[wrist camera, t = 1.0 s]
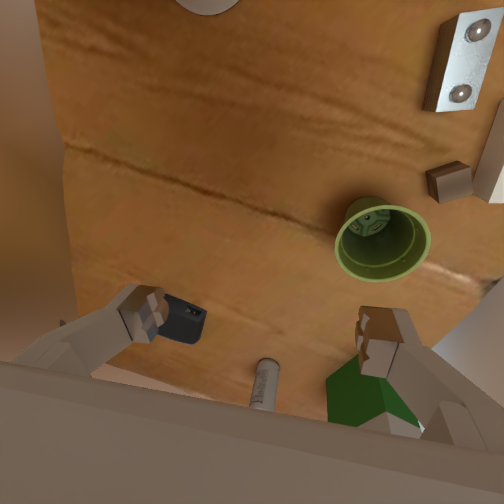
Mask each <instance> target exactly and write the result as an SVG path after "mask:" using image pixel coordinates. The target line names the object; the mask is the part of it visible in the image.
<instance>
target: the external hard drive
mask: <svg viewBox="0 0 504 504" xmlns="http://www.w3.org/2000/svg"><path fill="white" fill-rule="evenodd" d="M164 299H165V300H166V301H167V302H168V305H169V314H168V317H167V319H166V321H165V323H164V324H162V325H161V326H159V327H158V330H159V332H158V333H157V335H159V336H162V337H164V338H167V339H170V340H173V341H177V342H181V343H185V344H189V345H194V344H195V343H197V342H198V341H199V339H200V337H201V333H202V329H203V325H204V321H205V317H206V314H207V311H205V310H204V309H202V308H200V307H197V306H195V305H193V304H191V303H188V302H186V301H183V300H181V299H178V298H176V297H173V296H171V295H168V294H165V296H164Z"/></svg>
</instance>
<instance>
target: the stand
mask: <svg viewBox="0 0 504 504" xmlns="http://www.w3.org/2000/svg"><path fill="white" fill-rule="evenodd" d="M472 187H473V194H474V195H476V196H478V197H479V198H481V199H482V200H484V201H486V202H487V203H504V100H501V102H500V105H499V108H498V110H497V113H496V116H495V119H494V122H493V125H492V127H491V130H490V133H489V136H488V139H487V142H486V144H485V147H484V150H483V153H482V156H481V159H480V162H479V164H478V167H477V170H476V173H475V176H474V179H473V181H472Z"/></svg>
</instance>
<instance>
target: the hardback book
mask: <svg viewBox="0 0 504 504" xmlns="http://www.w3.org/2000/svg"><path fill="white" fill-rule="evenodd" d="M358 356H359V354H358V355H357V356H355V357H354V358H353V359H351V360H350V361H349V362H348V363H346V364H345V365H344V366H342V367H341V368H340V369H339V370H337V371H336V372H335V373H333V374H332V375H331V376H330V377H328V378H327V379H326V387H327V412H328V422H331V423H336V424H341V425H347V426H352V427H357V428H363V429H368V430H373V431H379V432H384V433H390V434H395V435H400V436H406V437H411V438H416V439H419V438H420V437H421V435H422V432H421V429H420V426H419V423H418V419H417V418H416V416H415V415H414V414H413V413H412V411H411V410H410V409H409V408H408V406H407V405H406V404H405V402H404V401H403V400H402V399H401V397H400V396H399V395H398V394H397V392H396V391H395V390H394V388H393V387H392V386H391V385H390V383H389V382H388V381H387V379H386V378H381V377H375V376H369V375H363V374H361V372H360V366H359V361H358Z"/></svg>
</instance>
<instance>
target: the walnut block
mask: <svg viewBox="0 0 504 504" xmlns="http://www.w3.org/2000/svg"><path fill="white" fill-rule="evenodd" d="M426 176H427V182H428V189H429V195H430V196H431V197H432V198H433V199H434V200H436V201H437V202H438V203H439V204H441V203H444V202H448V201H451V200H455V199H459V198H462V197H466V196H469V195H473V187H472V173H471V167H470V166H468V165H466V164H463V163H461V162H459V161H455V162H452V163H449V164H446V165H443V166H440V167H437V168H434V169H431V170H428V171H426Z"/></svg>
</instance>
